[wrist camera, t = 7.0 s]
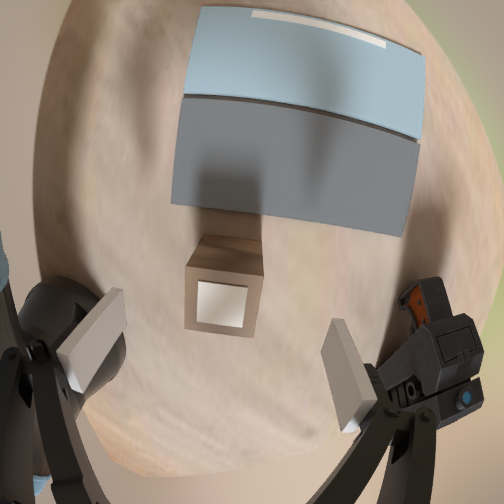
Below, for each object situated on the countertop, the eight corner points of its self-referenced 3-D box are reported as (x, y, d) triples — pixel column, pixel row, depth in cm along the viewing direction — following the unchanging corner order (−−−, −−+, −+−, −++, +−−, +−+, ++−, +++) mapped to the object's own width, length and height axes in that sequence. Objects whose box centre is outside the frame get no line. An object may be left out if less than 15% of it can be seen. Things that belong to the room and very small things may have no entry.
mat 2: (172, 202, 22) (170, 203, 22) (184, 99, 19) (182, 98, 19) (398, 235, 23) (401, 237, 23) (416, 144, 20) (420, 144, 19)
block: (201, 284, 25) (184, 329, 19) (204, 233, 23) (185, 266, 17) (253, 291, 25) (253, 338, 19) (261, 241, 24) (263, 277, 17)
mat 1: (185, 93, 19) (182, 92, 18) (202, 9, 16) (201, 5, 15) (417, 139, 20) (421, 139, 19) (421, 58, 17) (425, 57, 16)
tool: (452, 260, 21) (499, 404, 11) (392, 337, 36) (410, 428, 26) (404, 267, 21) (449, 432, 12) (356, 344, 36) (371, 440, 26)
